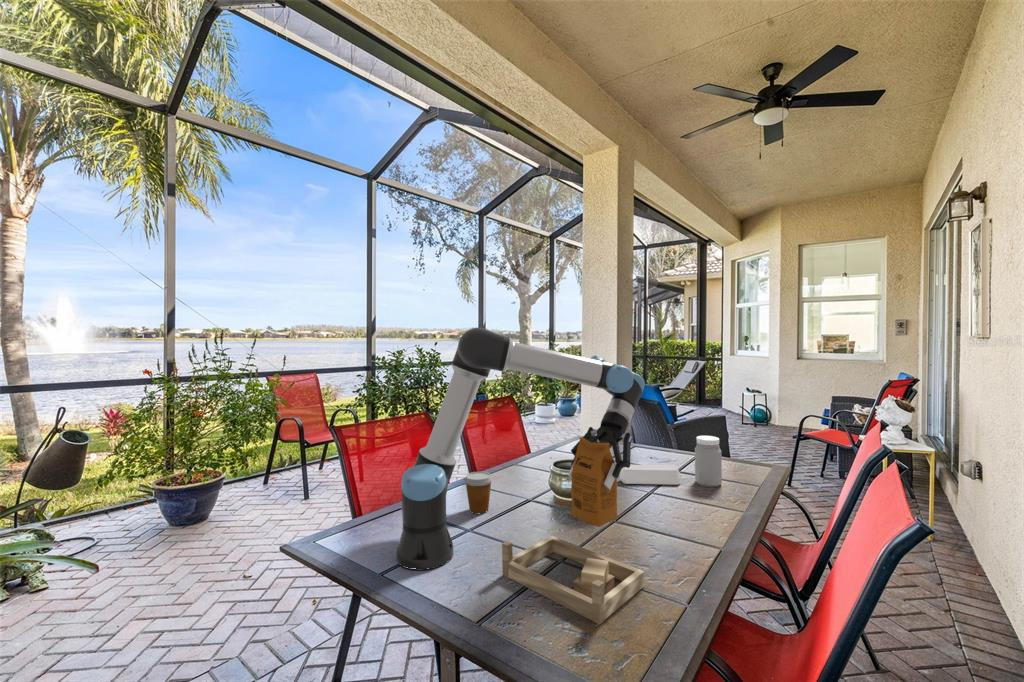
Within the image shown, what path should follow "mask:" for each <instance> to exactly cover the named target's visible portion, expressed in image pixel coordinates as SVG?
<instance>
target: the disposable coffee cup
mask: <svg viewBox="0 0 1024 682" xmlns="http://www.w3.org/2000/svg"><path fill="white" fill-rule="evenodd" d="M492 481H493V477H492V475H491V473H489V472H487V471H472V472H469V473H467V474H466V475H465V478H464V483H465V487H466V493H467V494H466V495H467V500H468V507H469V512H470V511H471V512H473V513H483V512H486V511H487V512H489V508H490V507H489V504H490V495H491V485H492ZM471 512H470V513H471ZM487 512H486V513H487ZM473 513H472V514H473ZM483 514H484V513H483Z"/></svg>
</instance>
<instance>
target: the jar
mask: <svg viewBox="0 0 1024 682" xmlns="http://www.w3.org/2000/svg"><path fill="white" fill-rule="evenodd" d="M722 463H723V461H722V450H721V448H720V438H719V437H717V436H714V435H698V436H696V446H695V448H694V480H695V482H696V483H697V485H700V486H702V487H708V488H716V487H719V486H720V485H722V484H723V480H722V479H723V478H722V477H723V475H722V474H723V471H722V469H723V467H722V465H723V464H722Z"/></svg>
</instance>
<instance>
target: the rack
mask: <svg viewBox="0 0 1024 682" xmlns="http://www.w3.org/2000/svg"><path fill="white" fill-rule="evenodd" d="M501 553H502V555H501V559H502V560H501V561H502V576H503V577H505V578H507V579H511V580H512V581H514V582H517V584H520V585H522V586H523V587H526V588H527V589H530V590H532V591H534V592H536V593H538V594H539V595H542V596H544V597H545V598H547V599H549V600H551V601H553V602H555V603H557V604H560V605H561V606H563V607H565V608H567V609H569V610H571V611H573V612H575V613H577V614H579V615H581V616H583V617H585V618H587V619H589V620H590V621H592V622H593V623H596V624H597V625H601V624H603V622H605V620H606V619H608V617H610V616H611V615H612V614H613V613H615V612H616V611H617V610H618V609H620V608H621V606H623V605H624V604H625V603H627V602H628V601H629V600H630V599H631V598H632V597H634V596H636V594H637V593H638V592H639V591H641V590H642V589H643V588H644V587H645V585H646V584H645V582H646V581H645V570H642V569H639V568H637V567H634V566H631V565H629V564H626V563H624V562H621V561H618V560H616V559H614V558H611V557H608V556H605V555H603V554H601V553H598V552H595V551H593V550H590V549H587V548H585V547H582V546H580V545H576V544H574V543H572V542H569V541H567V540H564V539H561V538H559V537H556V536H553V535H551V536H549V537H547V538H544V539H543V540H541V541H539V542H537V543H535V544H533V545H532V546H529V547H528V548H526V549H524V550H522V551H520V552H519V553H517V554H514V555H513V542H511V541H508V540H506V541H504V542H502V543H501ZM552 553H554V554H557V555H559V556H561V557H564V558H566V559H568V560H571V561H574V562H576V563H578V564H581V565H583V566H584V565H585V562H586V560H587V558H593V559H599V560H606V561H608V563H609V574H610V575H613V576H615V579H617V580H620V581H621V582H620V583H619V584H617V585H615V587H614V588H613V589H612V590H611V591H609V592H608V593H607V594H606V595H605V596H604V582H602V581H599V580H597V579H596V580H595V581H594V582H592V598H589V597H587V596H585V595H583V594H581V593H579V592H577V591H575V590H574V589H572V588H570V587H568V586H566V585H564V584H561V583H560V582H557V581H556V580H553V579H551V578H548V577H546V576H544V575H542V574H540V573H538V572H536V571H534V570H532V569H530V568H528V567H529V566H531V565H533V564H534V563H536V562H538V561H539V560H542V559H543V558H545V557H547V556H548V555H550V554H552Z"/></svg>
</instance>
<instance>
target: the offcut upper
mask: <svg viewBox="0 0 1024 682" xmlns="http://www.w3.org/2000/svg"><path fill="white" fill-rule="evenodd" d="M580 572H581V573H580V574H581V575H580V576H581V579H582V585H584V586H589V587H592V582H594V581H595V580H596V579H597V580H599V581H602V582H604V587H605V584H606V580H607V577H608V574H609V563H608V561H606V560H599V559H593V558H587V560H586V562H585V565H583V567H582V570H581V571H580Z"/></svg>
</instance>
